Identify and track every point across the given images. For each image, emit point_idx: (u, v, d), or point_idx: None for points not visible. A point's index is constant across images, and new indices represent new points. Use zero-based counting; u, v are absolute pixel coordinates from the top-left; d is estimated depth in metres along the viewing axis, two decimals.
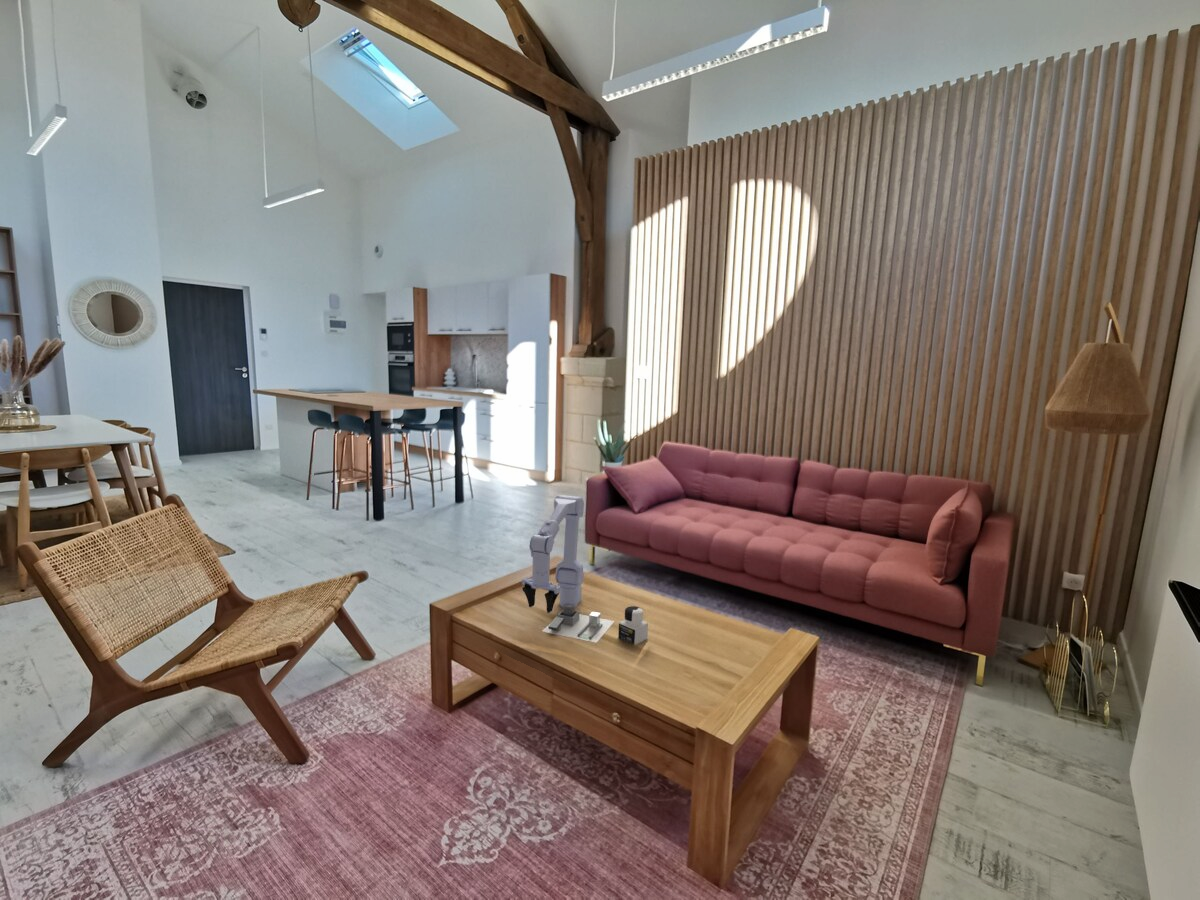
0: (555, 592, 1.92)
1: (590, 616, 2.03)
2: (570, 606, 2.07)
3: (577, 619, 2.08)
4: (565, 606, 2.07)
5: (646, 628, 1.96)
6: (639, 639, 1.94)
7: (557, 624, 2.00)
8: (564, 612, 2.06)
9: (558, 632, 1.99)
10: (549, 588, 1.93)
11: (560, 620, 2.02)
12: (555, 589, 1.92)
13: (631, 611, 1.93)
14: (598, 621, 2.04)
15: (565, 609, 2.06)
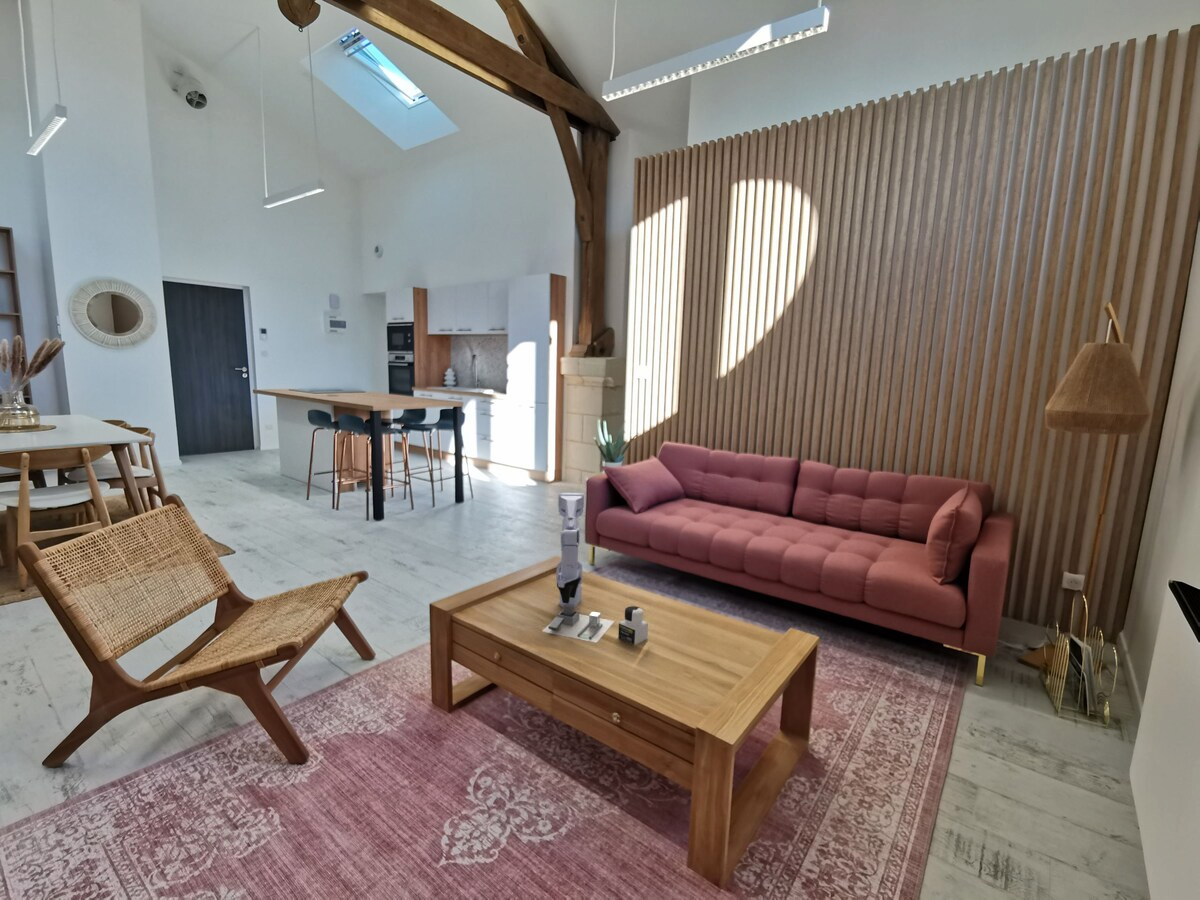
0: None
1: (590, 616, 2.03)
2: (570, 606, 2.07)
3: (577, 619, 2.08)
4: (565, 606, 2.07)
5: (646, 628, 1.96)
6: (639, 639, 1.94)
7: (557, 624, 2.00)
8: (564, 612, 2.06)
9: (558, 632, 1.99)
10: (559, 579, 2.02)
11: (560, 620, 2.02)
12: None
13: (631, 611, 1.93)
14: (598, 621, 2.04)
15: (565, 609, 2.06)
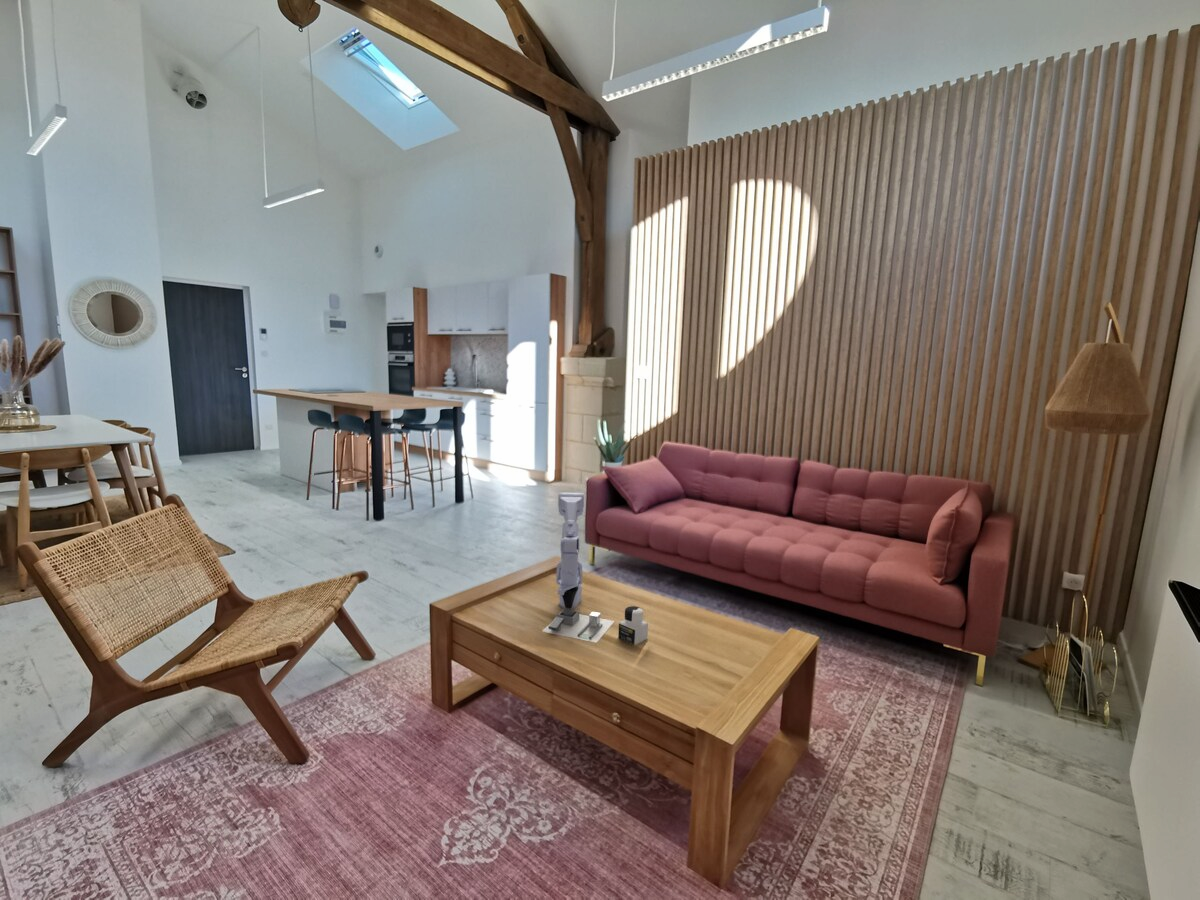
0: None
1: (590, 616, 2.03)
2: None
3: (577, 619, 2.08)
4: None
5: (646, 628, 1.96)
6: (639, 639, 1.94)
7: (557, 624, 2.00)
8: (564, 613, 2.06)
9: (558, 632, 1.99)
10: (559, 587, 2.02)
11: (560, 620, 2.02)
12: None
13: (631, 611, 1.93)
14: (598, 621, 2.04)
15: (565, 611, 2.06)
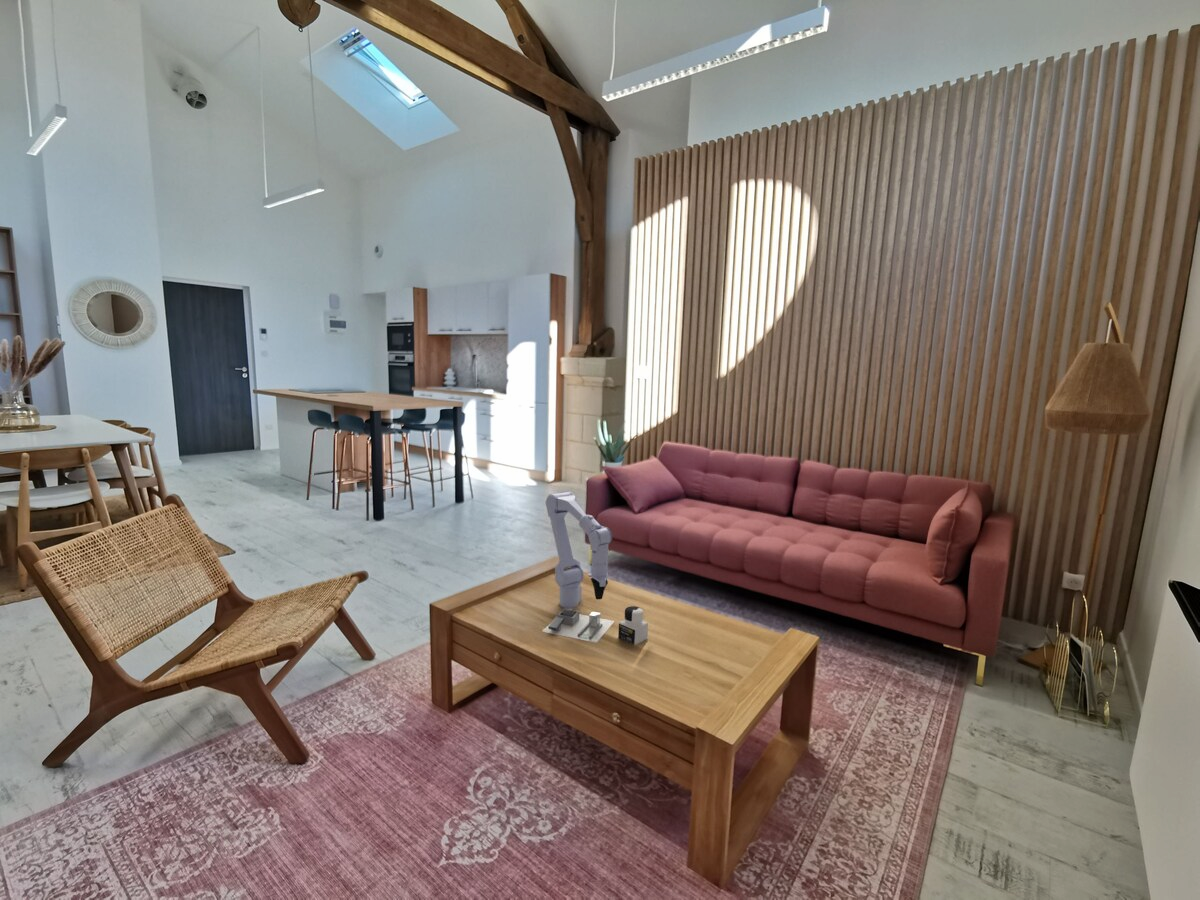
0: (599, 584, 2.01)
1: (590, 616, 2.03)
2: (570, 610, 2.07)
3: (577, 619, 2.08)
4: (565, 610, 2.07)
5: (646, 628, 1.96)
6: (639, 639, 1.94)
7: (557, 624, 2.00)
8: (564, 615, 2.06)
9: (558, 632, 1.99)
10: (597, 579, 2.03)
11: (560, 620, 2.02)
12: (599, 582, 2.01)
13: (631, 611, 1.93)
14: (598, 621, 2.04)
15: (565, 613, 2.06)
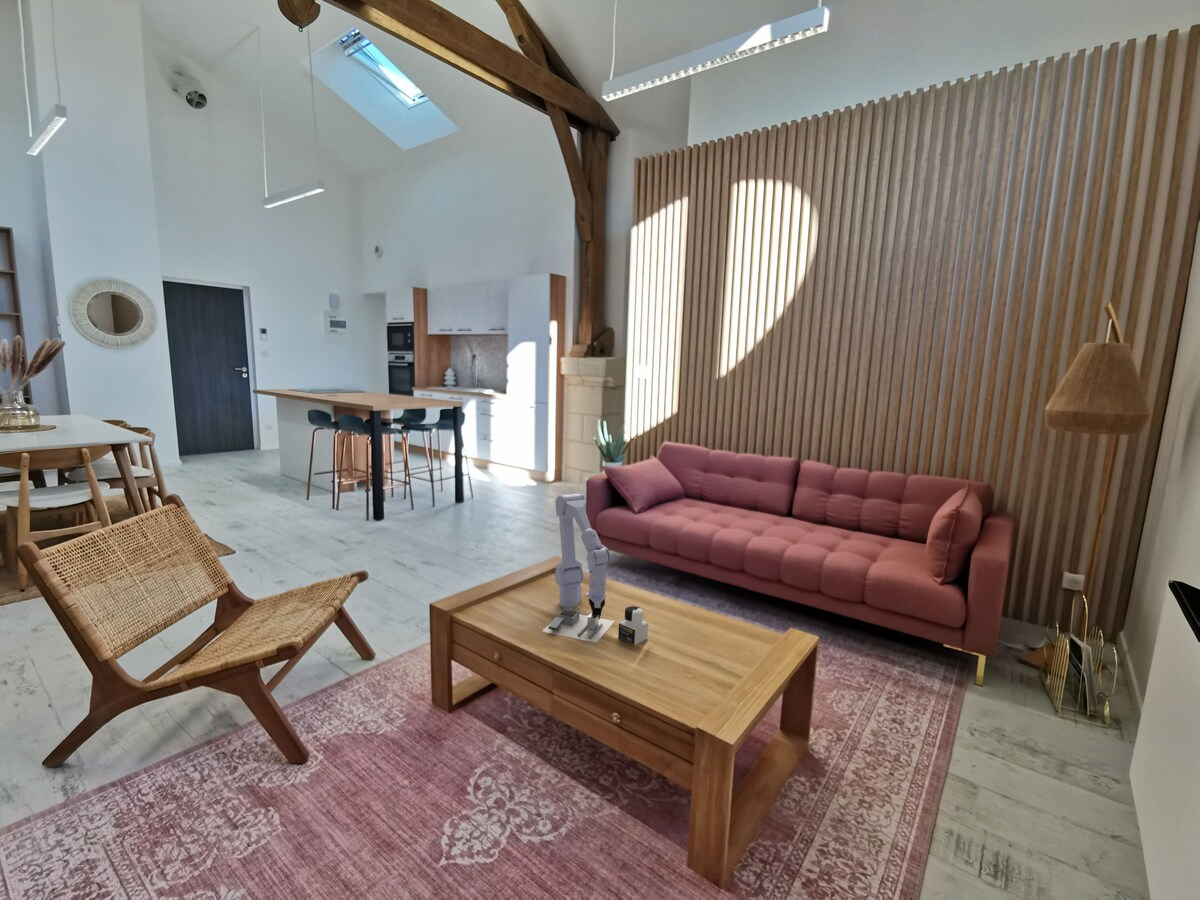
0: (594, 605, 1.98)
1: (588, 618, 2.02)
2: (570, 610, 2.07)
3: (577, 619, 2.08)
4: (565, 610, 2.07)
5: (646, 628, 1.96)
6: (639, 639, 1.94)
7: (557, 624, 2.00)
8: (564, 615, 2.06)
9: (558, 632, 1.99)
10: (592, 600, 2.00)
11: (560, 620, 2.02)
12: (594, 602, 1.98)
13: (631, 611, 1.93)
14: (596, 623, 2.02)
15: (565, 613, 2.06)
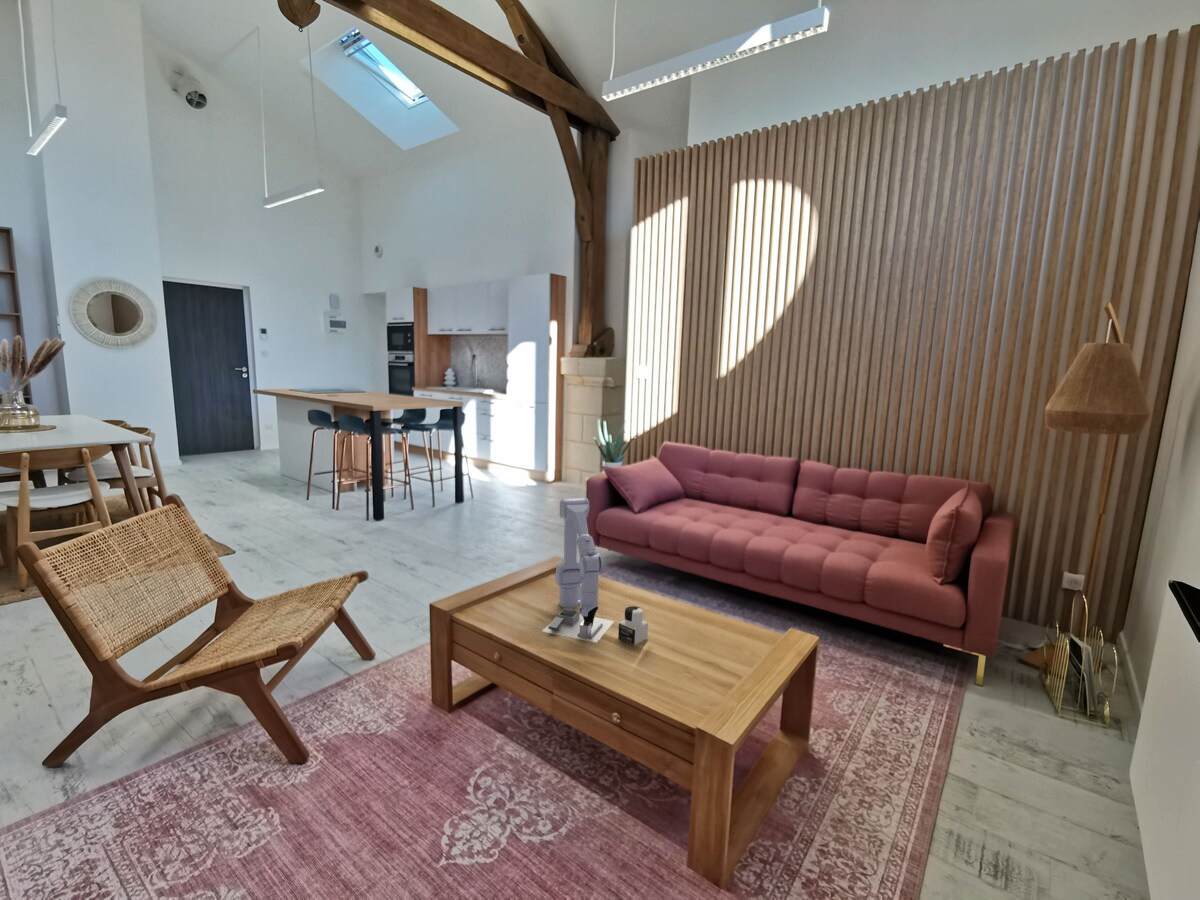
0: None
1: (581, 626, 1.95)
2: (570, 610, 2.07)
3: (577, 619, 2.08)
4: (565, 610, 2.07)
5: (646, 628, 1.96)
6: (639, 639, 1.94)
7: (557, 624, 2.00)
8: (564, 615, 2.06)
9: (558, 632, 1.99)
10: (581, 608, 1.94)
11: (560, 620, 2.02)
12: None
13: (631, 611, 1.93)
14: (589, 631, 1.96)
15: (565, 613, 2.06)
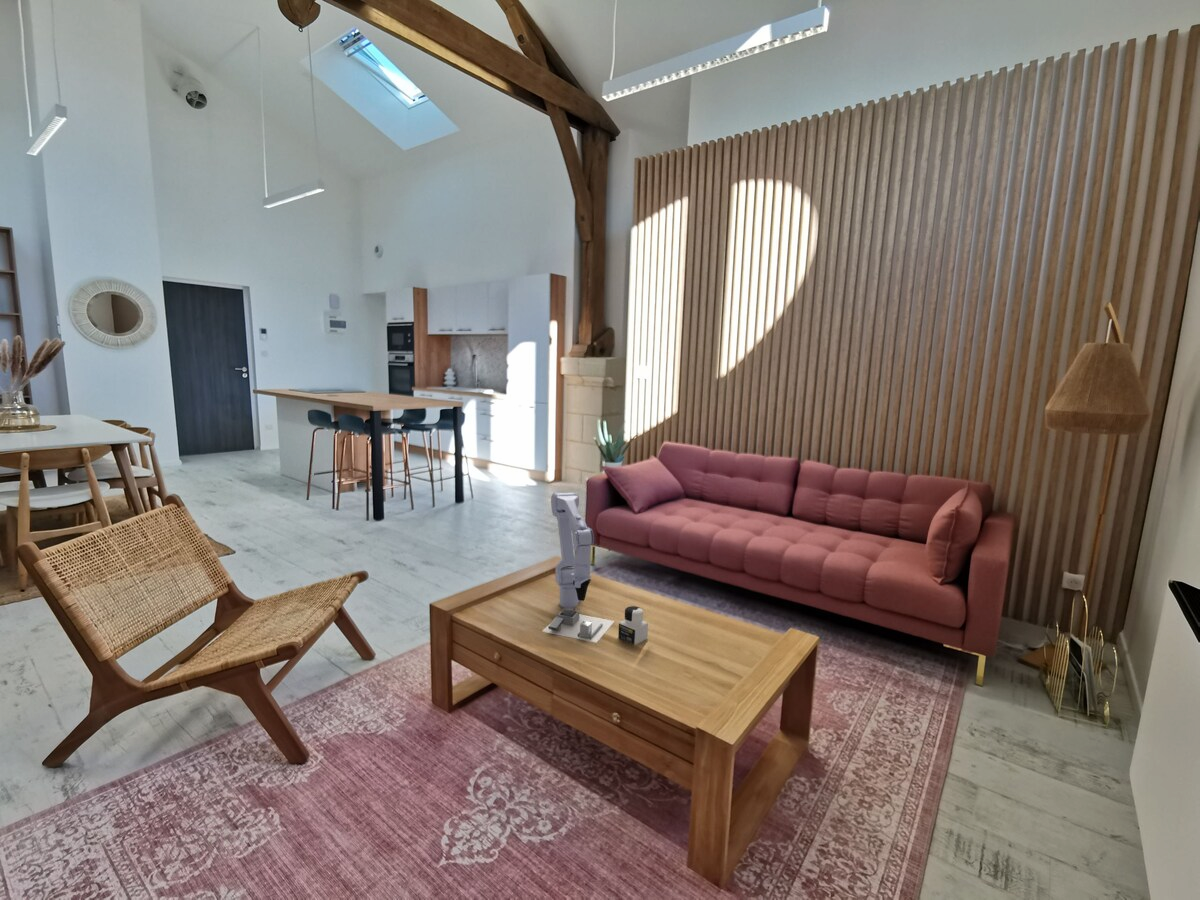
0: None
1: (581, 625, 1.96)
2: (570, 610, 2.07)
3: (577, 619, 2.08)
4: (565, 610, 2.07)
5: (646, 628, 1.96)
6: (639, 639, 1.94)
7: (557, 624, 2.00)
8: (564, 615, 2.06)
9: (558, 632, 1.99)
10: (574, 580, 2.02)
11: (560, 620, 2.02)
12: (574, 582, 2.00)
13: (631, 611, 1.93)
14: (590, 630, 1.97)
15: (565, 613, 2.06)
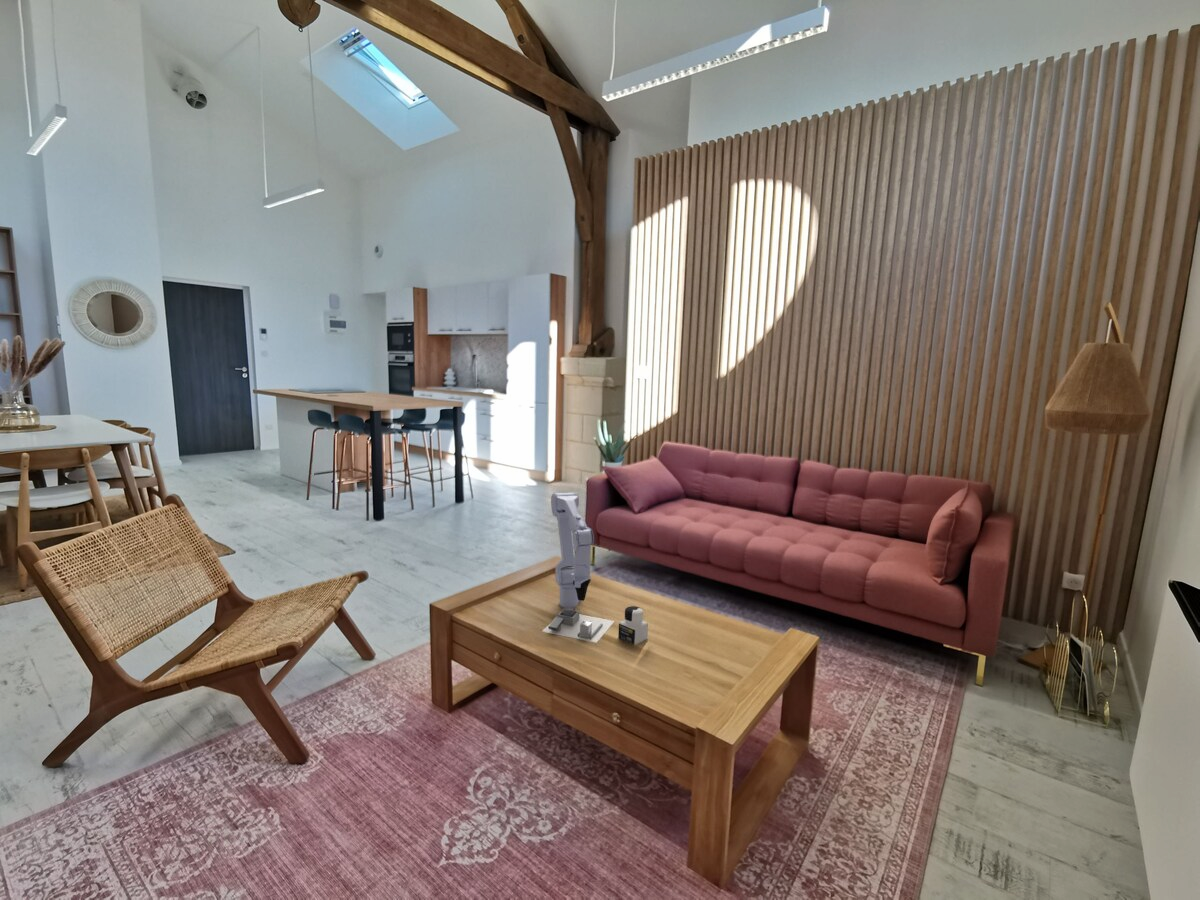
0: None
1: (581, 625, 1.96)
2: (570, 610, 2.07)
3: (577, 619, 2.08)
4: (565, 610, 2.07)
5: (646, 628, 1.96)
6: (639, 639, 1.94)
7: (557, 624, 2.00)
8: (564, 615, 2.06)
9: (558, 632, 1.99)
10: (574, 580, 2.02)
11: (560, 620, 2.02)
12: (574, 582, 2.00)
13: (631, 611, 1.93)
14: (590, 630, 1.97)
15: (565, 613, 2.06)
